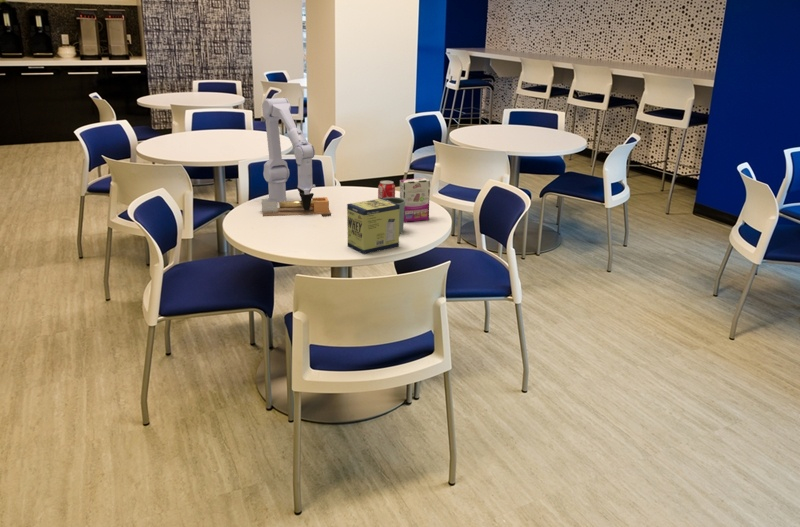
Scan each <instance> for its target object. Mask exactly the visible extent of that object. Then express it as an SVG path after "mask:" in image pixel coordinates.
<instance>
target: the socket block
mask: <svg viewBox="0 0 800 527" xmlns="http://www.w3.org/2000/svg"><path fill="white" fill-rule="evenodd" d="M312 200H319V201H314V207H313V211H314V213H316V212H329V210H330V201H329V199H328V197H324V196H323V197H318V196H317V197H312Z"/></svg>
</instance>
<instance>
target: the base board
mask: <svg viewBox="0 0 800 527" xmlns="http://www.w3.org/2000/svg"><path fill="white" fill-rule="evenodd" d="M277 208H278V213H272V214H262V217H284V216H286V217H287V216H309V215H311V216H313V215H314V216H315V215H321V217H322V216H323V217H332V213H331V211H330V209H329V212H316V213H314V211H313V207H310V209H309V210H304V209H303V208H280V207H277Z"/></svg>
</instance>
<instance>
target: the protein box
mask: <svg viewBox="0 0 800 527" xmlns="http://www.w3.org/2000/svg"><path fill="white" fill-rule="evenodd" d="M346 207H347V208H346V209H347V211H346V212H347V216H346V219H347V224H346V225H347V247H349V248H351V249H353V250H355V251H356V252H359V253H361V254H362V255H366V254H370V252H371V253H375V252H380V251H384V249H385V250H388V249H392V248H397V247H399V246H400V234H399V210H400V205H399V204H396V203H394V202H391V201H389V200H386V199H383V198H380V199H378V198H375V199H369V200H363V201H358V202H350V203H347V204H346ZM379 250H380V251H379Z"/></svg>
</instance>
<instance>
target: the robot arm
mask: <svg viewBox="0 0 800 527" xmlns="http://www.w3.org/2000/svg"><path fill="white" fill-rule="evenodd" d="M261 104H262V105H261V107H262V108H261V109H262V116H263V119H264V120H265V127H266V128H265V130H266V140H267V148H268V149H267V150H268V158H269V159H268V160H266V162H265V163H263V173H262V174H263V178H264V180H265V181H266V183H267V184H268V197H267V199H277V203H279V201H287V193H286V192H287V189H286V188H287V187H286V182H287V181H288V179H289V177H290V169H289V167H288V162H287V161H286V160H284V159H283V158H282V147H281V138H280V127H279V121H280V120H281V122H282V123H283V125H284V127H285V128H286V129H287V132H288V134H287V137H288V139H289V141H290V143H291V144H292V146H293V148H294V151H293V154H294V155H293V156H294V157H295V162H296V164H297V191H298V192H299V193H298V195H299V196H300V201H302V203H303V208H304V210H309V209H310V204H311V200H312V198H314V195H315V194H314V193H313V192H311V191H312V189H313V188H316V184H313V159H314V158H315V154H316V151H315V150H316V149H315V147H314V145H313V144H312V143H310V142H309V141H308V140H307V139H306V137H305V134H304V133H303V131H302V129H300V128H297V125H296V122H295V120H294V118H293V116H292V114H291V108H292V105H291V103H290V101H289V99H288V98H287V97H278V98H277V97H275V98H264V100H263V102H262V103H261Z"/></svg>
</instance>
